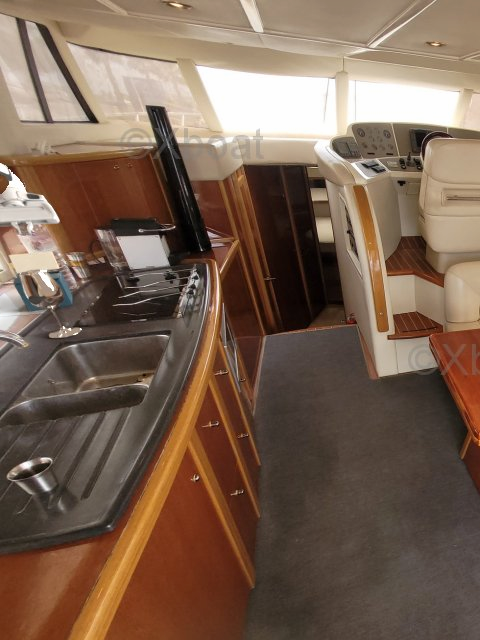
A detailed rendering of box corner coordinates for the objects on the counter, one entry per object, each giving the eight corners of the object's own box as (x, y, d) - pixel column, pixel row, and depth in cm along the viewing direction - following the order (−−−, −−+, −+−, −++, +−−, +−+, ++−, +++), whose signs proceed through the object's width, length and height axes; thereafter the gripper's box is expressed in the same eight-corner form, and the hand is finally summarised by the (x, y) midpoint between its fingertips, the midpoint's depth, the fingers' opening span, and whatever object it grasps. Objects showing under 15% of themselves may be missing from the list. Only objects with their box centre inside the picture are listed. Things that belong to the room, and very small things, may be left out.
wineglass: (49, 341, 119) (14, 278, 109) (47, 332, 123) (12, 271, 113) (84, 333, 124) (53, 273, 114) (80, 325, 128) (50, 266, 118)
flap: (16, 273, 138) (17, 273, 138) (59, 268, 144) (59, 268, 145) (8, 255, 136) (8, 255, 136) (51, 251, 143) (52, 251, 143)
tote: (31, 300, 143) (16, 272, 138) (72, 294, 150) (59, 268, 144) (29, 311, 135) (13, 283, 130) (72, 305, 141) (58, 277, 136)
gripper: (-34, 197, 136) (-22, 231, 135) (48, 195, 148) (60, 226, 147) (-24, 208, 141) (-13, 241, 140) (54, 205, 153) (66, 236, 152)
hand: (25, 234), depth 143 cm, fingers closed
